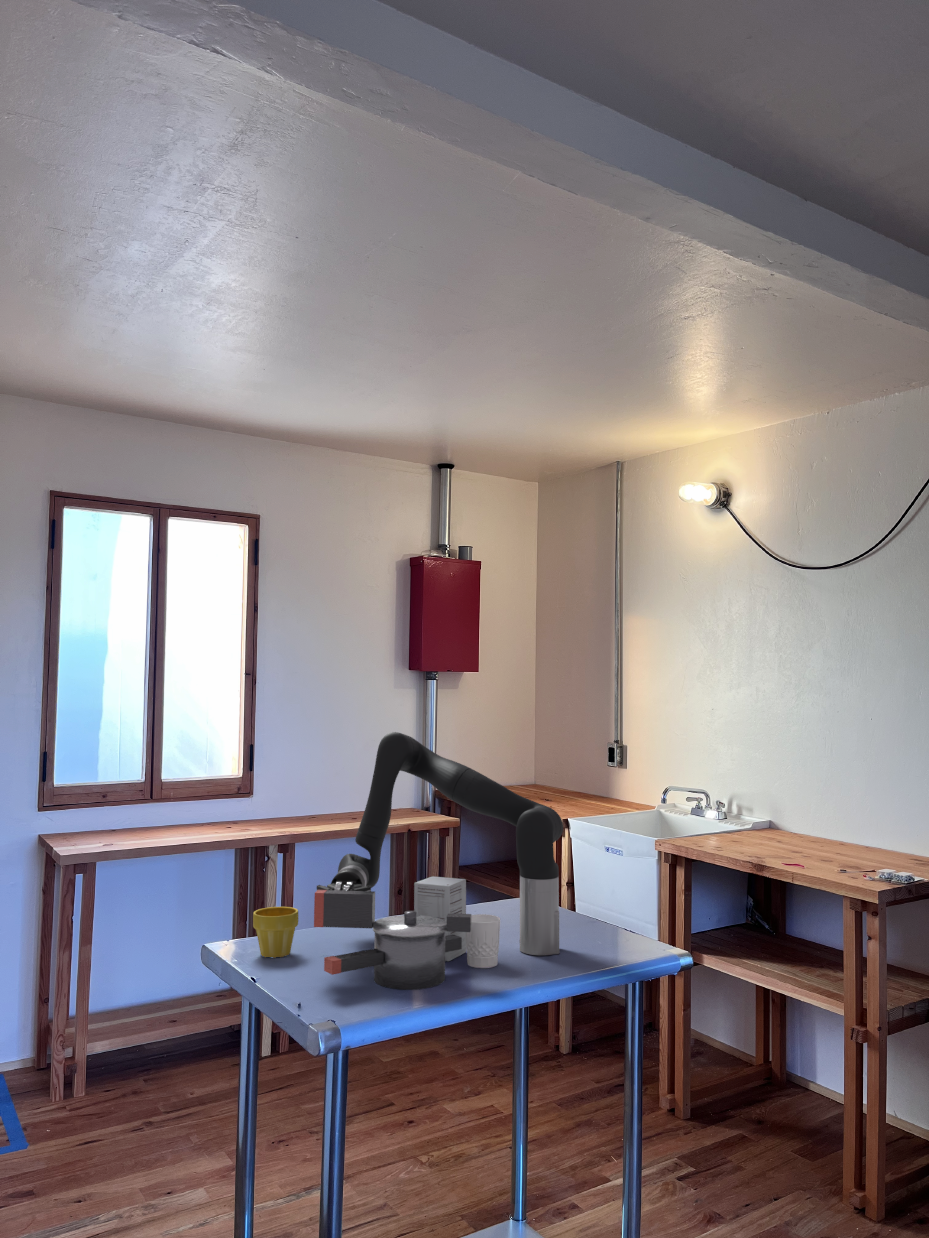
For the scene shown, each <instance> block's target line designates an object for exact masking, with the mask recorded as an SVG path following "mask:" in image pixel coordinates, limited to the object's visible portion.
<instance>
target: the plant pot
mask: <svg viewBox="0 0 929 1238" xmlns="http://www.w3.org/2000/svg"><path fill="white" fill-rule="evenodd" d="M298 925H299V910H298V908H295V907H291V906H271V907H270V906H269V907H265V908H259V909H257V910H254V911H253V915H252V926H253V929H255V931H256V936H257V941H258V946H259V951H260V953H259V954H260V956H261V955H262V956H261V957H263V956H264V957H263V958H266V957H273V958H272V959H277V958H276V957H280V958H284V956H285V957H287V955H288V956H289V955H290V954H291V951H292V947H293V941H294V936H295V932H296V927H298Z"/></svg>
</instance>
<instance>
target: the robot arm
mask: <svg viewBox="0 0 929 1238" xmlns="http://www.w3.org/2000/svg"><path fill="white" fill-rule="evenodd" d="M375 757H376V758H375V763H374V770H373V774H372V779H371V784H370V788H369V789H370V790H369V793H368V798H367V801H366V805H365V808H364V812H363V814H362V818H361V821H360V823H359V827H358V829H357V833H356V836H355V838H354V840H355V841H354V842H355V843H356V844H357V845H358V846H360V847H361V848H363V849H364V850H366V851H367V852H368V854H369V857H370V858H367V857H364V856H360V855H357V854H355V853H347V854H345V855H344V856H343V857H342V858H341V859H340V861H339V864H338V866H337V867H338V868H337V873H336V874H335V875H334V876H333V878H332V880H331V882H330V883H329V884H327V885H321V884H317V885H316V891H317V890H337V891H372V888H373V887H375V886H376V885H377V883H378V882H379V879H380V870H381V854H382V853H381V852H382V847H383V844H384V840H385V838H386V835H387V832H388V829H389V825H390V822H391V817H392V808H393V807H392V805H393V804H392V803H393V802H392V801H393V792H394V788H395V783H396V780H397V778H398V777H399V773H400V771H401V772H404V773H408V774H410V775H413V776H415V777H417V778H419V779H422V780H424V781H426V782H427V783H429V784H430V785H431V786H433V787H434V788H435V790H437V791H438V792H440V793H441V794H442V795H443V796H445V797H447V798H448V799H449V800H451V801H453V802H454V803H456V804H458V805H460V806H462V807H464V808H465V809H467V810H469V811H472V812H475V813H477V814H480V815H484V816H487V817H492V818H495V819H498V820H501V821H505V822H507V823H509V824H510V825H512V826H514V827H516V828H515V837H516V838H515V841H516V845H515V846H516V847H515V848H516V860H517V861H516V862H517V866H518V869H519V943H518V944H519V951H520V952H522V953H523V954H527V955H530V956H531V955H533V956H551V955H559V954H560V910H559V909H560V908H559V905H560V903H559V902H560V901H559V900H560V899H559V897H560V895H559V894H560V893H559V890H560V889H559V888H560V886H559V885H560V884H559V883H560V882H559V880H560V879H559V877H560V874H559V871H560V870H559V865H558V863H557V862H556V860H555V855H554V854H555V851H554V850H555V849H554V843H555V842H556V841H558V840H559V839H560V838H561V836H562V834H563V832H564V823H563V820H562V818H561V816H560V814H559V813H558V812H557V811H556V810H555V809H554V808H552V807H549V806H548V805H544V804H542V803H540V802H536V801H534V800H531V799H529V798H527V797H524V796H522V795H519V794H517V793H515V792H514V791H512V790H510V789H509V788H507V787H505V786H504V785H502V784H501V783H499V782H497V781H495V780H493V779H492V778H489V777H488V776H486V775H484V774H483V773H480V772H478V771H476V770H475V769H473V768H471V767H469V766H467V765H465V764H462V763H459V762H458V761H454V760H452V759H449V758H445V757H443V756H441V755H439V754H437V753H436V752H435V751H432V750H431V749H429V748H428V747H427V746H425V745H424V744H422V743H420V742H419V741H418V740H416V739H415V738H414V737H412V736H410V735H408V734H405V733H401V732H396V731H392V732H389V733H387V734H386V735H384V736H383V737H382V738H381V740H380V742H379V745H378V747H377V751H376V756H375Z"/></svg>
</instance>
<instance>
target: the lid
mask: <svg viewBox="0 0 929 1238" xmlns="http://www.w3.org/2000/svg"><path fill="white" fill-rule="evenodd" d="M313 901H314V905H313V908H314V909H313V911H314V913H313V928H343V929H345V928H346V929H372V931H373V933H374V934H375V933H377V934H380V935H383V936H388V937H395V938H423V937H431V936H436V935H439V934H442V933H444V932H446V931H449V932H470V931H471V915H472V914H471V913H466V914H448V915H447V922H446V921H445V920H443V919H440V918H436V917H431V916H422V915H417V912H416V911H414V910H406V911H404V915H393V916H386V917H383V918H379V919H377V920H376V891H373V890H371V891H337V890H317V889H316V891H315V892H314V900H313Z"/></svg>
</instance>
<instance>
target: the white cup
mask: <svg viewBox="0 0 929 1238" xmlns="http://www.w3.org/2000/svg"><path fill="white" fill-rule="evenodd" d="M500 928H501V918H500V916H497V915H493V914H481V913H479V914H471V931H470V932H466V961H467V962H466V963H467V966H469V967H471V968H477V969H490V968H494V967H496V966H498V959H499V957H498V956H499V952H500V951H499V949H500V935H501V934H500V930H501V929H500Z"/></svg>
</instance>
